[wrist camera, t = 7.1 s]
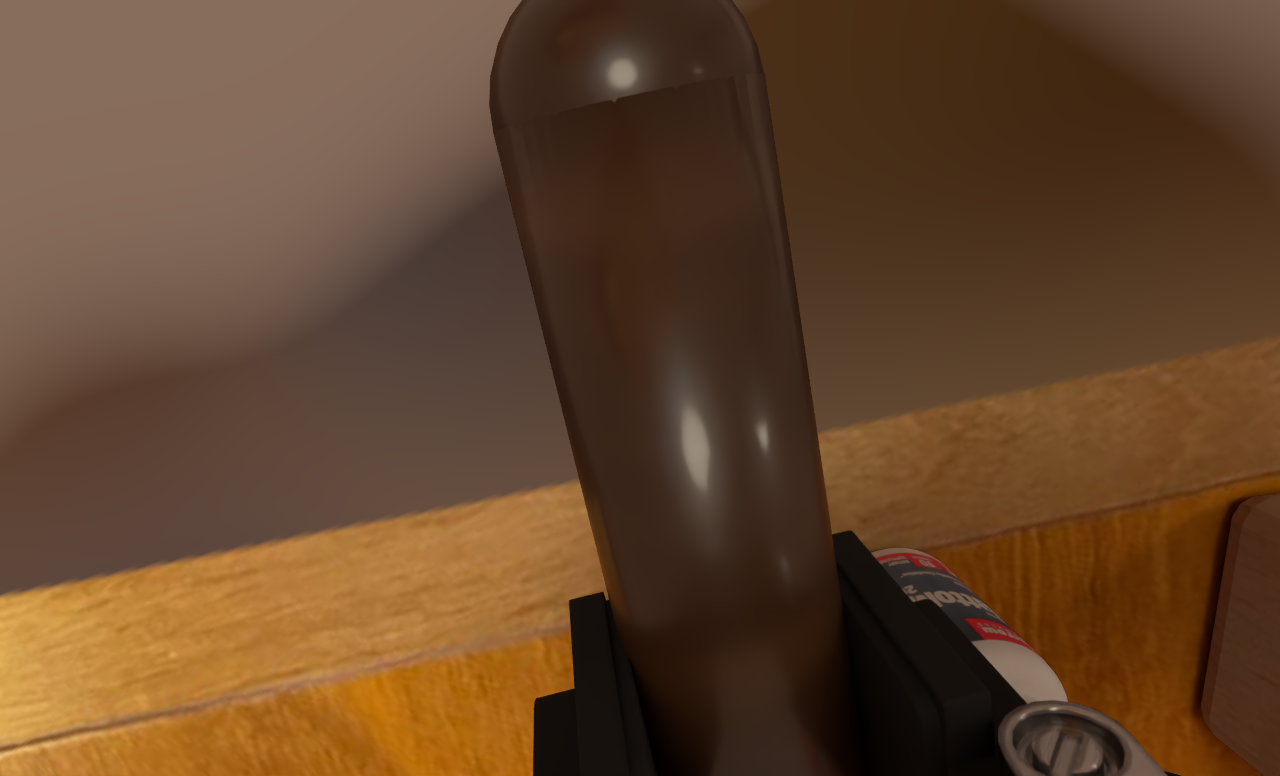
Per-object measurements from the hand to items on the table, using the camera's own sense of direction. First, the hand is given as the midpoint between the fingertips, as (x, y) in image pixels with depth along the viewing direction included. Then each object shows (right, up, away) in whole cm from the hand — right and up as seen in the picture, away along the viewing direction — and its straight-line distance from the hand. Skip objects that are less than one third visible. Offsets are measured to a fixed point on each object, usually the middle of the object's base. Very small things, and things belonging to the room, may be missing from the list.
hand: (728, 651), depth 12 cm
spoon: (0, 0, 0) cm, 0 cm away
